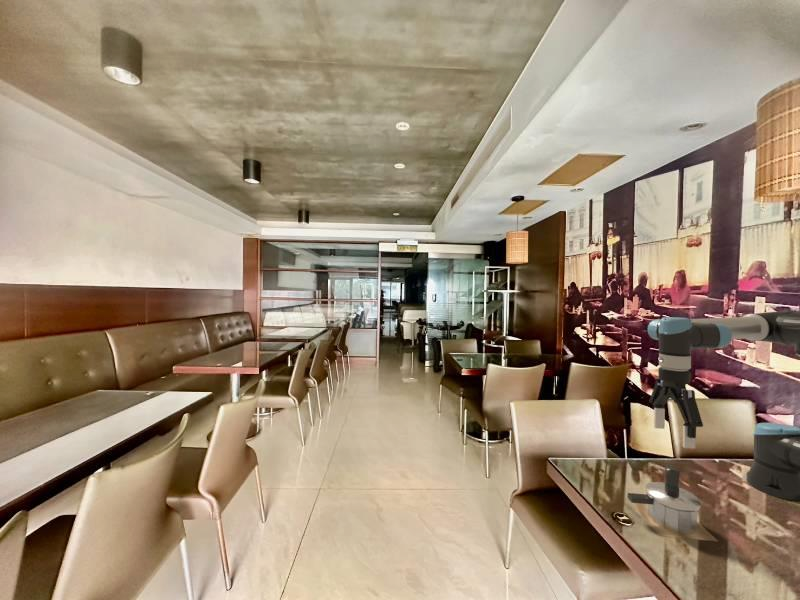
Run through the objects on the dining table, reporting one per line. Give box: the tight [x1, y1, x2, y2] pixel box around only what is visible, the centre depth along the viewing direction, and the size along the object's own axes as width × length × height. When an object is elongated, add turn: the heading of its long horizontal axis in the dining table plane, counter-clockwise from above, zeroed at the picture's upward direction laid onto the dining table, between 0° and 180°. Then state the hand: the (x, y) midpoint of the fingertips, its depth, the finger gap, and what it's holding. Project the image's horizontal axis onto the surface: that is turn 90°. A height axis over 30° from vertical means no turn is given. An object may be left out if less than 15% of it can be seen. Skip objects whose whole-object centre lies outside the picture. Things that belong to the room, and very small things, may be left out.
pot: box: [627, 492, 698, 535], centre depth 102 cm, size 18×12×7 cm, turn 81°
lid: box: [645, 465, 701, 512], centre depth 101 cm, size 13×13×9 cm
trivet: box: [631, 502, 718, 542], centre depth 102 cm, size 15×15×1 cm
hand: (673, 437), depth 101 cm, fingers open, 13 cm apart
